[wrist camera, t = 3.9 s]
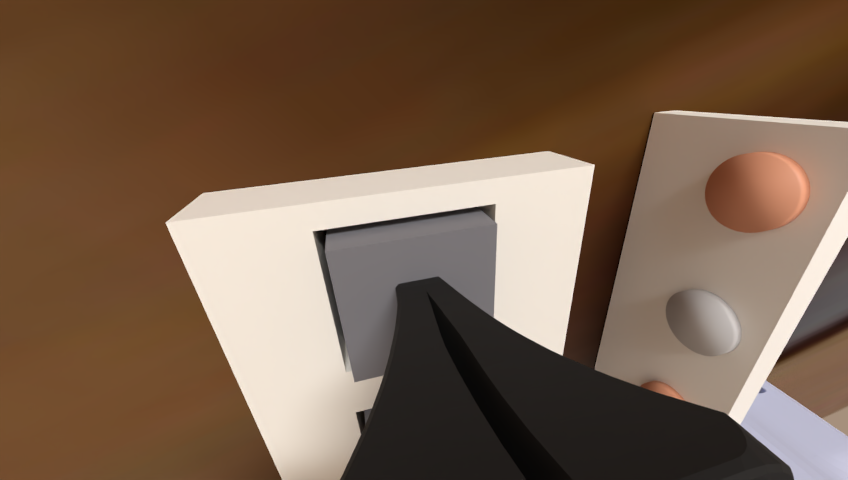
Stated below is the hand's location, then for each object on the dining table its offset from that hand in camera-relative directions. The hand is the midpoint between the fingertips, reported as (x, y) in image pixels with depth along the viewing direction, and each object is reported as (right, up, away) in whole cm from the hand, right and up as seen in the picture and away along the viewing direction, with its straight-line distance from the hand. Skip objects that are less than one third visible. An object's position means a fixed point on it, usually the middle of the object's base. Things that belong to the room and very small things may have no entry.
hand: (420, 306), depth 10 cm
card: (+10, +1, +6) cm, 12 cm away
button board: (0, -5, +6) cm, 8 cm away
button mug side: (-1, +1, +2) cm, 3 cm away
